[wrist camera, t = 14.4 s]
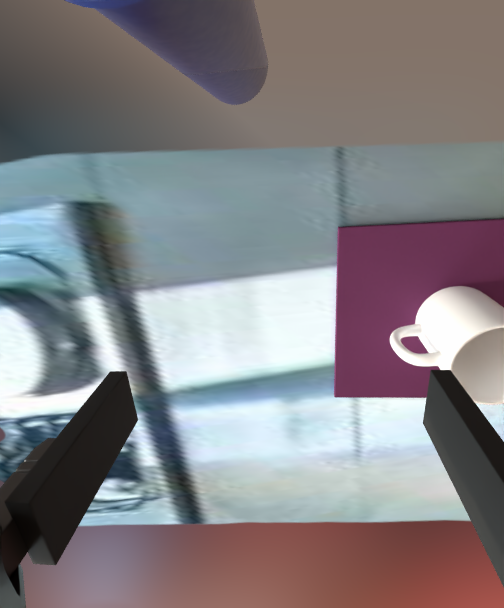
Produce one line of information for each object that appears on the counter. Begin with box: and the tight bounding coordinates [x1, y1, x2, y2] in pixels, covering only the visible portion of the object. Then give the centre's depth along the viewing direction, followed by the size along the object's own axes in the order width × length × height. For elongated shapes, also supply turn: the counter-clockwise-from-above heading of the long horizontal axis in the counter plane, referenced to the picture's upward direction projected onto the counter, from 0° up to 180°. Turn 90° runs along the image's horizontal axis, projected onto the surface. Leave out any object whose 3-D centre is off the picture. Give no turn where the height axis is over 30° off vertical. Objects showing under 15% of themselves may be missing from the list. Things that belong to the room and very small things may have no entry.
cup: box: [390, 286, 504, 405], centre depth 36 cm, size 8×12×10 cm
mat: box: [334, 219, 504, 398], centre depth 41 cm, size 22×22×1 cm
